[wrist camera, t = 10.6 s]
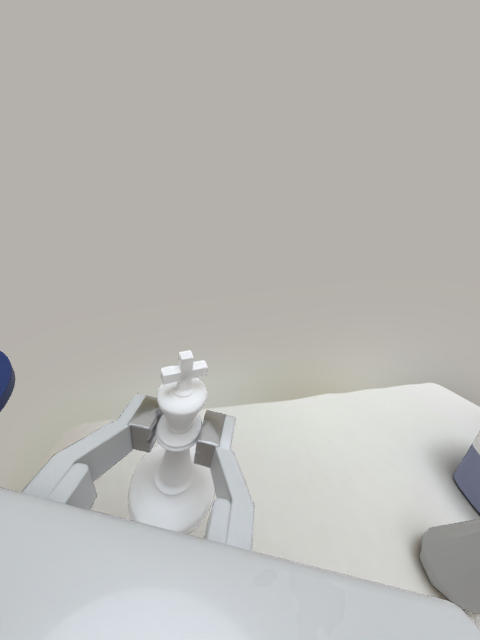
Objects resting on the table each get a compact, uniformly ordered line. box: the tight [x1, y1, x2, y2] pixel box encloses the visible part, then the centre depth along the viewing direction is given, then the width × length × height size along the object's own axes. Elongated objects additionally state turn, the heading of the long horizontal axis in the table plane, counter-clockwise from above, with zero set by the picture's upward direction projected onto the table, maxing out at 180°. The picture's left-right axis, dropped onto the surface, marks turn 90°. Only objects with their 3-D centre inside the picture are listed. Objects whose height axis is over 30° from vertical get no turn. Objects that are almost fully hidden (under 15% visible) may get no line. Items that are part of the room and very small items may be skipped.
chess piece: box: [128, 350, 215, 534], centre depth 10 cm, size 5×5×10 cm
